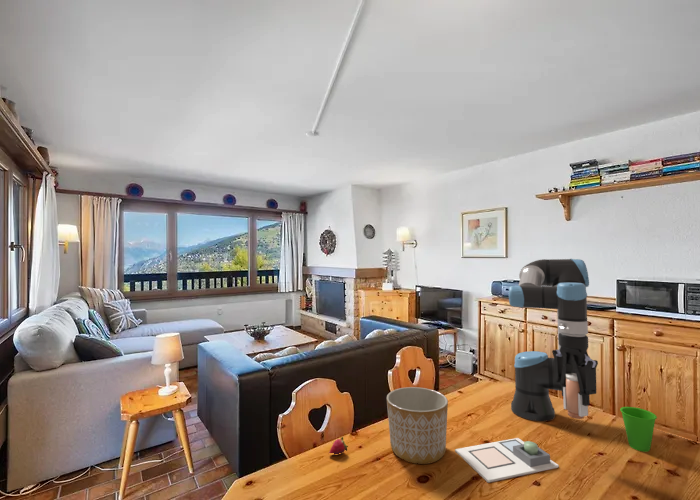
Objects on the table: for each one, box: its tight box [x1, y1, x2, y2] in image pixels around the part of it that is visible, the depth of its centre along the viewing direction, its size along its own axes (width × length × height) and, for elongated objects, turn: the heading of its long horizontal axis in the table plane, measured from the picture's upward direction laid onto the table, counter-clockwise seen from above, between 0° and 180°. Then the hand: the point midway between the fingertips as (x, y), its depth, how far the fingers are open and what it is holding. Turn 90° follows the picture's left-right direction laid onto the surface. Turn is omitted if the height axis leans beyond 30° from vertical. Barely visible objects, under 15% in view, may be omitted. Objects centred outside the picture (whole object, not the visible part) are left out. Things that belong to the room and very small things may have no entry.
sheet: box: [454, 437, 560, 483], centre depth 104 cm, size 16×24×1 cm, turn 105°
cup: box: [619, 406, 658, 453], centre depth 109 cm, size 9×9×11 cm
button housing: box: [513, 444, 551, 467], centre depth 103 cm, size 7×7×2 cm
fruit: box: [328, 436, 349, 454], centre depth 107 cm, size 4×6×5 cm
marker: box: [566, 373, 585, 420], centre depth 103 cm, size 4×4×12 cm
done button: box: [524, 440, 539, 456], centre depth 103 cm, size 4×4×2 cm
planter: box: [386, 386, 449, 465], centre depth 109 cm, size 19×19×16 cm
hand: (575, 411), depth 103 cm, fingers closed on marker, 4 cm apart
